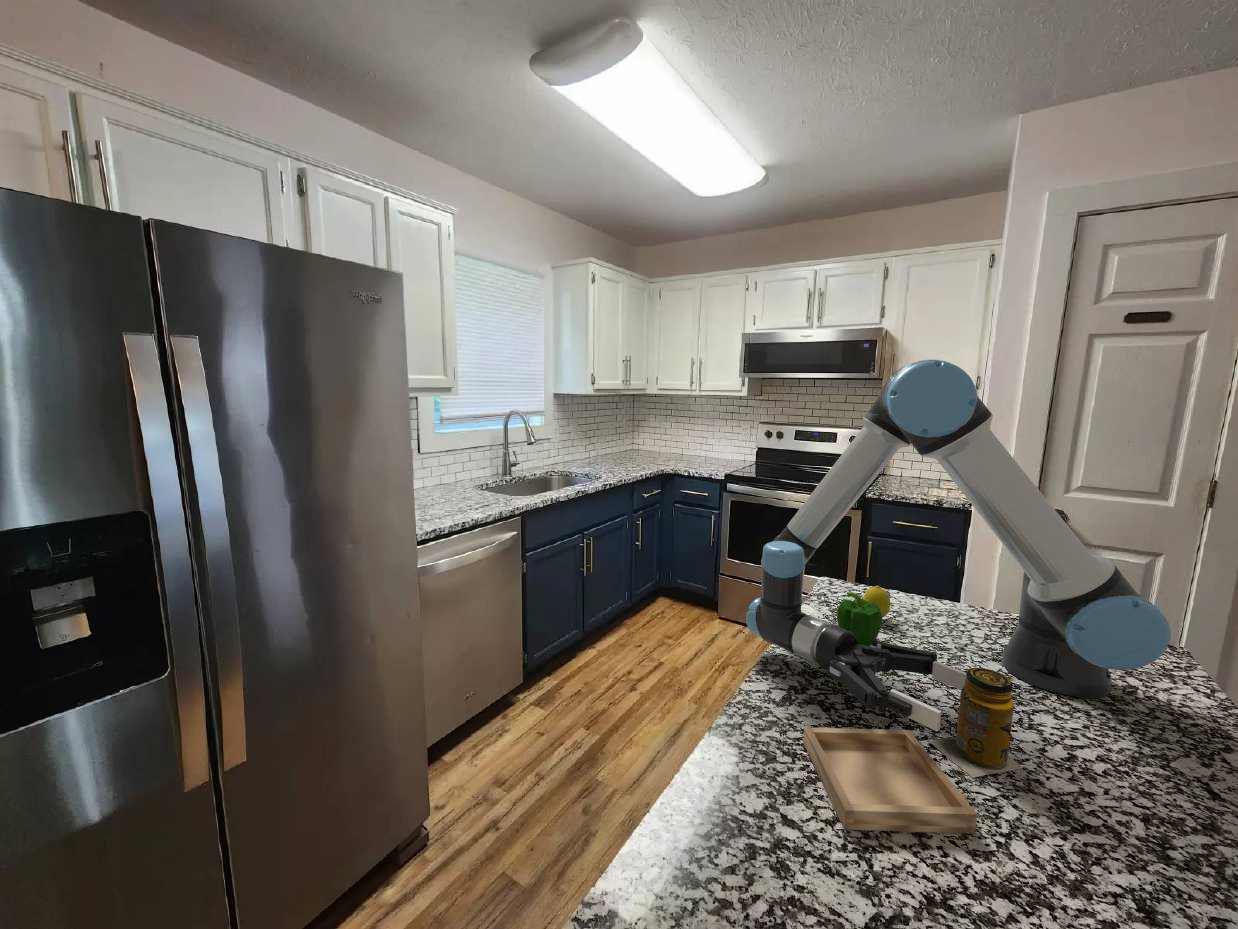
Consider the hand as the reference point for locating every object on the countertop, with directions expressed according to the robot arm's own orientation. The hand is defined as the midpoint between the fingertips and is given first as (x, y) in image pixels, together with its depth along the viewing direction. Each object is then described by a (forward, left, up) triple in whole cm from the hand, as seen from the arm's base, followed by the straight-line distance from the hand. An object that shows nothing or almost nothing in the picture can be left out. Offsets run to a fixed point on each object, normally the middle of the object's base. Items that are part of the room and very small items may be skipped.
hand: (961, 704), depth 73 cm
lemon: (-8, -43, -7) cm, 44 cm away
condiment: (-2, +1, -7) cm, 7 cm away
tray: (+14, +7, -7) cm, 17 cm away
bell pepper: (0, -33, -7) cm, 33 cm away
